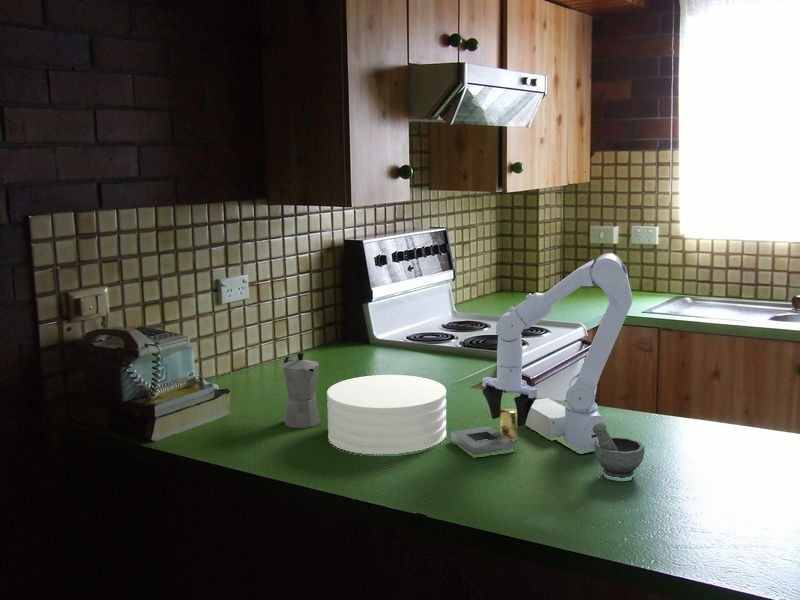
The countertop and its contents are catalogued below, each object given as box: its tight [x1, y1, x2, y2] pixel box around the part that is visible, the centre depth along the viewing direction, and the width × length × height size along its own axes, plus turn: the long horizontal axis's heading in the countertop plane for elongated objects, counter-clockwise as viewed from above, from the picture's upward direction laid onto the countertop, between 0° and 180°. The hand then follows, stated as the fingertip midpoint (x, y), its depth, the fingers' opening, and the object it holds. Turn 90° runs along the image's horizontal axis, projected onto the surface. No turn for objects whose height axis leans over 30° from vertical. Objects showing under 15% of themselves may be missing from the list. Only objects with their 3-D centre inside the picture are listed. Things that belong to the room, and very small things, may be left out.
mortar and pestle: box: [592, 423, 645, 478], centre depth 178 cm, size 11×9×12 cm
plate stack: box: [326, 374, 447, 455], centre depth 205 cm, size 28×28×12 cm
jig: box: [450, 425, 515, 455], centre depth 197 cm, size 12×10×2 cm
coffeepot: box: [282, 352, 321, 429], centre depth 216 cm, size 15×9×18 cm, turn 33°
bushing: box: [499, 408, 519, 439], centre depth 201 cm, size 4×4×7 cm
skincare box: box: [526, 397, 565, 438], centre depth 208 cm, size 8×6×15 cm
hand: (508, 421), depth 201 cm, fingers open, 7 cm apart
